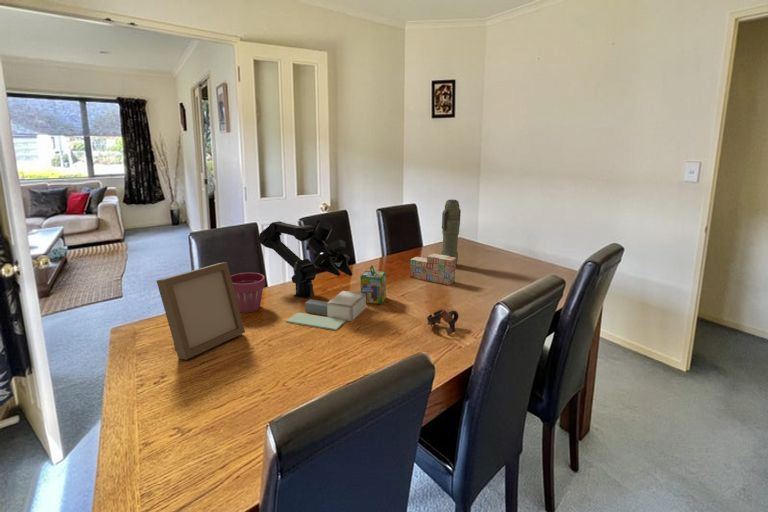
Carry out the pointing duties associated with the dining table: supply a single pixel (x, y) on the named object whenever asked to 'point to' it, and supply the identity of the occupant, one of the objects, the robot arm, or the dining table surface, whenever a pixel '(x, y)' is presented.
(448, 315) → the dark looped figurine
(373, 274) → the green product box
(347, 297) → the gray cuboid case
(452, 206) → the dark grey statuette
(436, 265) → the stack of blocks
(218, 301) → the photo frame
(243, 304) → the plant pot
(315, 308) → the grey blank
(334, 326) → the felt pad
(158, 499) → the dining table surface
